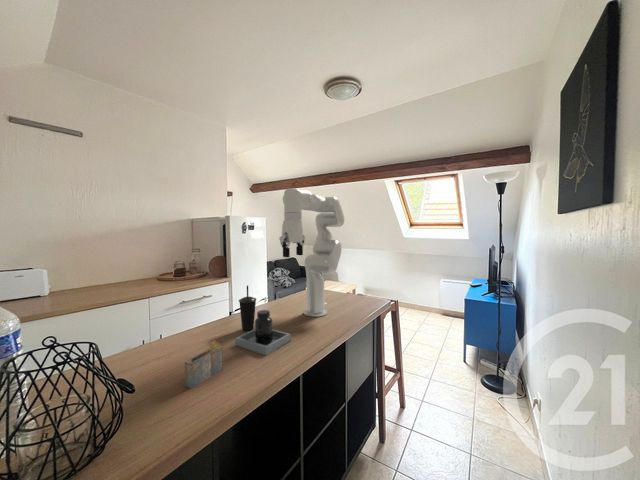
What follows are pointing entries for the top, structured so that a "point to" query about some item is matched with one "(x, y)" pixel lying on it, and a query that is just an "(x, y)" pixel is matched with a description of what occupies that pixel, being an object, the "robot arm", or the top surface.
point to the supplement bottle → (263, 328)
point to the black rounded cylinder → (247, 312)
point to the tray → (250, 344)
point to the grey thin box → (203, 365)
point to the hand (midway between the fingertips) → (293, 256)
